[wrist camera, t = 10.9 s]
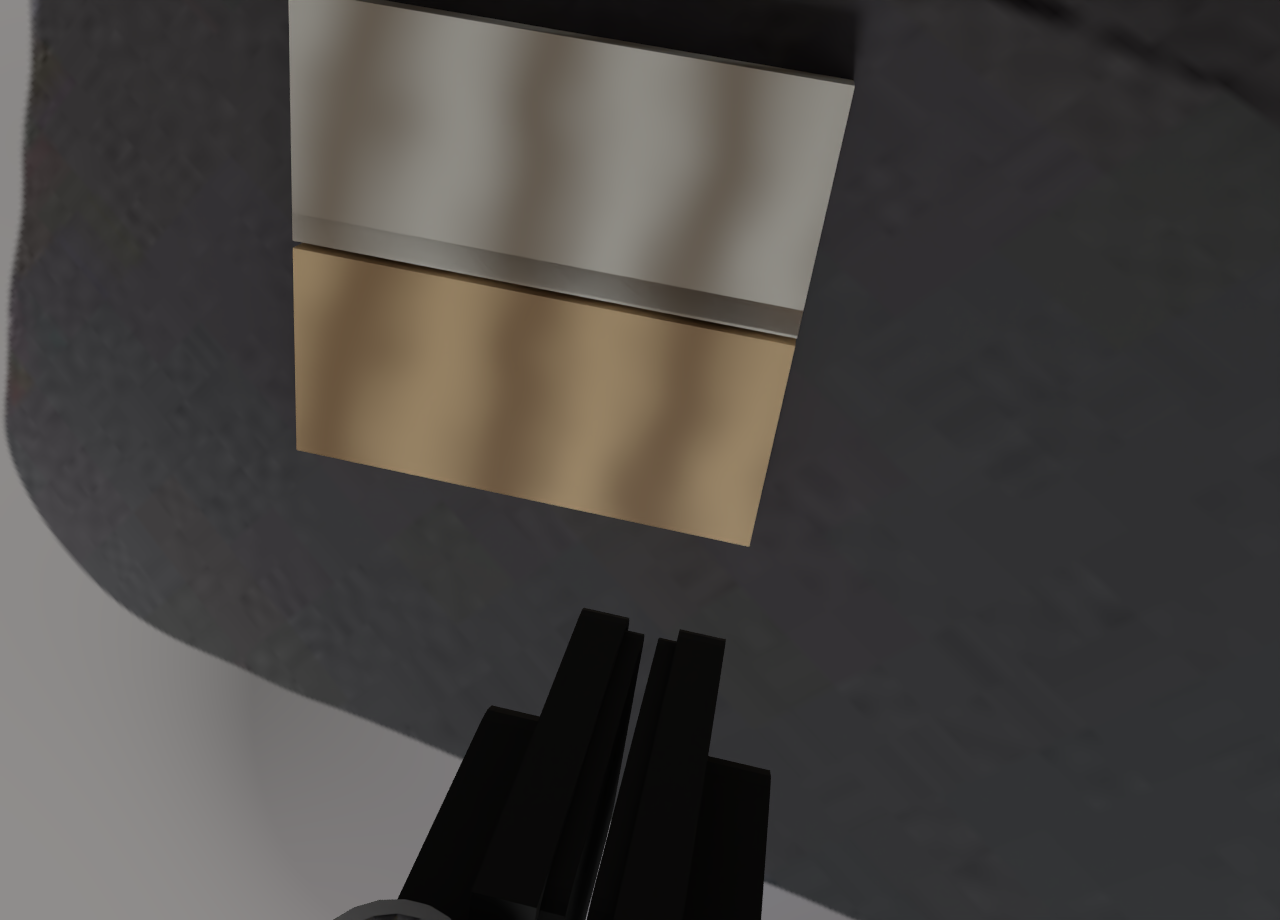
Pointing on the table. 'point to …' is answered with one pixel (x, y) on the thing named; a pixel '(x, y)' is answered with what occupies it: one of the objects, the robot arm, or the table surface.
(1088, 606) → the table surface
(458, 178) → the laid plank
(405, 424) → the oak plank
